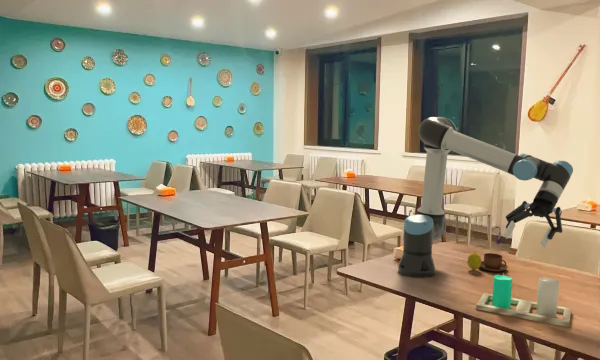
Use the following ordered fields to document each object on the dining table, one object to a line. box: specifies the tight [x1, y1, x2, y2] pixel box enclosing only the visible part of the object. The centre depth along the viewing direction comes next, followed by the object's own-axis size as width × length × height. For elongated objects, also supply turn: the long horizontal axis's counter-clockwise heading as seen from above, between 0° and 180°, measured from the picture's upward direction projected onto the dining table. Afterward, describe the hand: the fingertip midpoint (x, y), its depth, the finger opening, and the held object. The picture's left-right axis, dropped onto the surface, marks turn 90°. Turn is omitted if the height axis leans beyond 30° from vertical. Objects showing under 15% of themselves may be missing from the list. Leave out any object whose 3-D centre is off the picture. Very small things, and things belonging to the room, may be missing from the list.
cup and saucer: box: [479, 252, 508, 272], centre depth 218 cm, size 12×12×6 cm
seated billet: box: [535, 277, 560, 318], centre depth 167 cm, size 6×6×12 cm
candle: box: [491, 272, 513, 309], centre depth 174 cm, size 6×6×12 cm
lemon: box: [467, 251, 482, 271], centre depth 215 cm, size 6×6×8 cm
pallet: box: [475, 292, 572, 328], centre depth 171 cm, size 28×14×2 cm, turn 60°
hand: (523, 240), depth 181 cm, fingers open, 13 cm apart
